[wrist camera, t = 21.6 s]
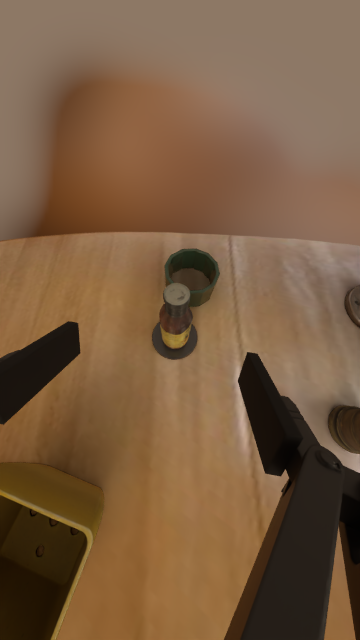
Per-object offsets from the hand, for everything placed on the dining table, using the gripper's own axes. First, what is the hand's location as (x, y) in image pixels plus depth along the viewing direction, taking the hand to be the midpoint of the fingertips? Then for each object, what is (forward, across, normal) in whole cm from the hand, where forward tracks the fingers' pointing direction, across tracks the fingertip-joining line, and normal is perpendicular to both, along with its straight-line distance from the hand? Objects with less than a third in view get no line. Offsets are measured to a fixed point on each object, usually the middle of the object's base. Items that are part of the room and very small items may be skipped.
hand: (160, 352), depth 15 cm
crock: (+40, +1, -3) cm, 40 cm away
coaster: (+29, 0, -14) cm, 32 cm away
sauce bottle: (+28, 0, -14) cm, 31 cm away
